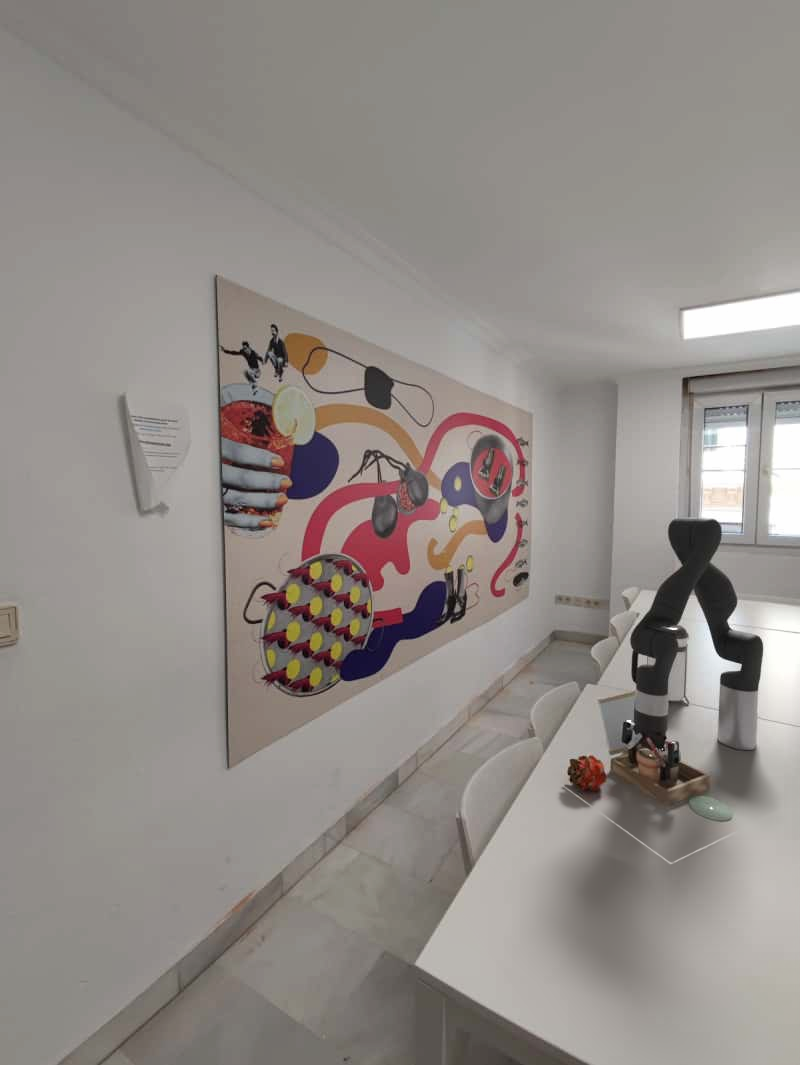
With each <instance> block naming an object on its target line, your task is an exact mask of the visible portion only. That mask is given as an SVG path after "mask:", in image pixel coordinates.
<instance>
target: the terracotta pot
mask: <svg viewBox="0 0 800 1065" xmlns="http://www.w3.org/2000/svg"><path fill="white" fill-rule="evenodd" d="M636 760H637V761H638V773H639V774H641V775H642V776H644V777H646V778H648V779H649V780H651V781H653V782H655V783H656V784H658V785H659V778H660V766H661V763H660V761H659V759H658V758H657V757H656V756H655V754H654V752H653V751H651V750H649V749H643V748H638V750H637V755H636Z"/></svg>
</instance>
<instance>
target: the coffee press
mask: <svg viewBox="0 0 800 1065" xmlns="http://www.w3.org/2000/svg"><path fill="white" fill-rule="evenodd" d="M659 630H661V631H665V632H669V633H671V634H673V635H674V636H675V637H676V639H677V642H678V652H677V655H676V658H675V660H674V663H673V665H672V668H671V671H670V674H669V678H668V702H678V701H679V702H681V703H682V704H683V705H685V706H688V705H689V704H690V701H689V700H688V699H689V698H687V695H686V694H687V693H686V692H687V691H686V690H687V671H688V670H687V667H688V650H689V647H688V646H689V645H688V641H689V640H690V637H689V636H690V635H689V633H688V632H687V630H686V628H685V627H683V626H682V625H679V624H677V625H675V626H663V627H661V628H660V629H659ZM631 654H632V655H631V672H630V674H631V679H632V681H633V682H634V683H635V684H636V679H637V669H638V667H639V666H638V665H639V664H638V663H639V654H638V653H636V652H635V651H634V650H633V649H632V653H631ZM646 657H647V658H646V660H647V661H646V663H647V664H646V665H654V664H655V661H656V659H655V658H652V657H648V656H646ZM683 699H685V700H683ZM685 701H686V702H685Z"/></svg>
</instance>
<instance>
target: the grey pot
mask: <svg viewBox="0 0 800 1065" xmlns="http://www.w3.org/2000/svg"><path fill="white" fill-rule="evenodd" d="M665 746H666V745H665ZM666 747H667V746H666ZM667 750H668V749H667ZM658 751H659V752H662V750H661V749H659V750H658ZM663 758H664V757H663ZM664 760H665V759H664ZM679 761H682V752H681V751H680V750H679ZM678 774H679V766H677V767H674V768H671V769H670V778H669V779H668V780H677V779H678Z"/></svg>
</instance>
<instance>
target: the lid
mask: <svg viewBox="0 0 800 1065" xmlns="http://www.w3.org/2000/svg"><path fill="white" fill-rule="evenodd" d="M635 692H636V690H632V691H629V692H628V691H627V692H624V693H620V694H616V695H615V694H614V695H611V696H607V697H603V698H599V699H597V702H598V703H597V704H598V707H599V710H600V715H601V720H602V724H603V729H604V730H603V731H604V733H605V734H604V735H605V738H606V743H607V748H608V755H609V756H614V755H616V754H617V755H618V754H621V753H624V752H626V751H629V748H628V746H627V745H626V744H625V743H623V742H622V730H623V722H624V721H627V720H632V721H633V723H634V699H635ZM635 736H636V734H635V732H634V730H633V734H632V739H633V738H634V737H635ZM639 747H642V746H641V744H640V745H639V746H638V747H637V748H639Z"/></svg>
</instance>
